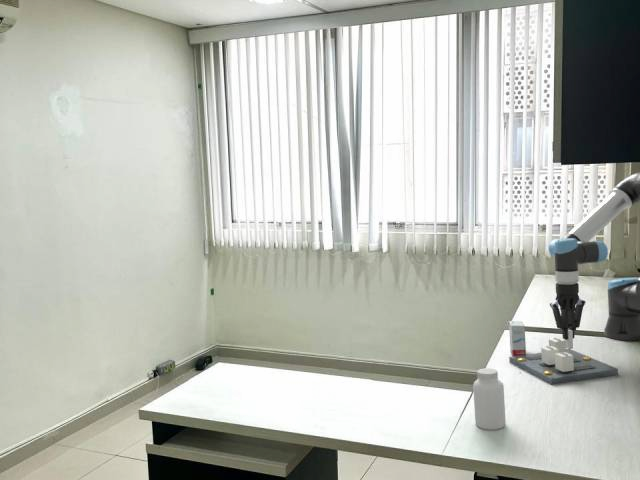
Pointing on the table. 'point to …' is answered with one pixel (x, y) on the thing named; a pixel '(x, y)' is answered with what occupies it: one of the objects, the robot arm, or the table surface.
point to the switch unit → (582, 371)
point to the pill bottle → (489, 400)
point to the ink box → (517, 338)
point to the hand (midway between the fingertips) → (568, 347)
